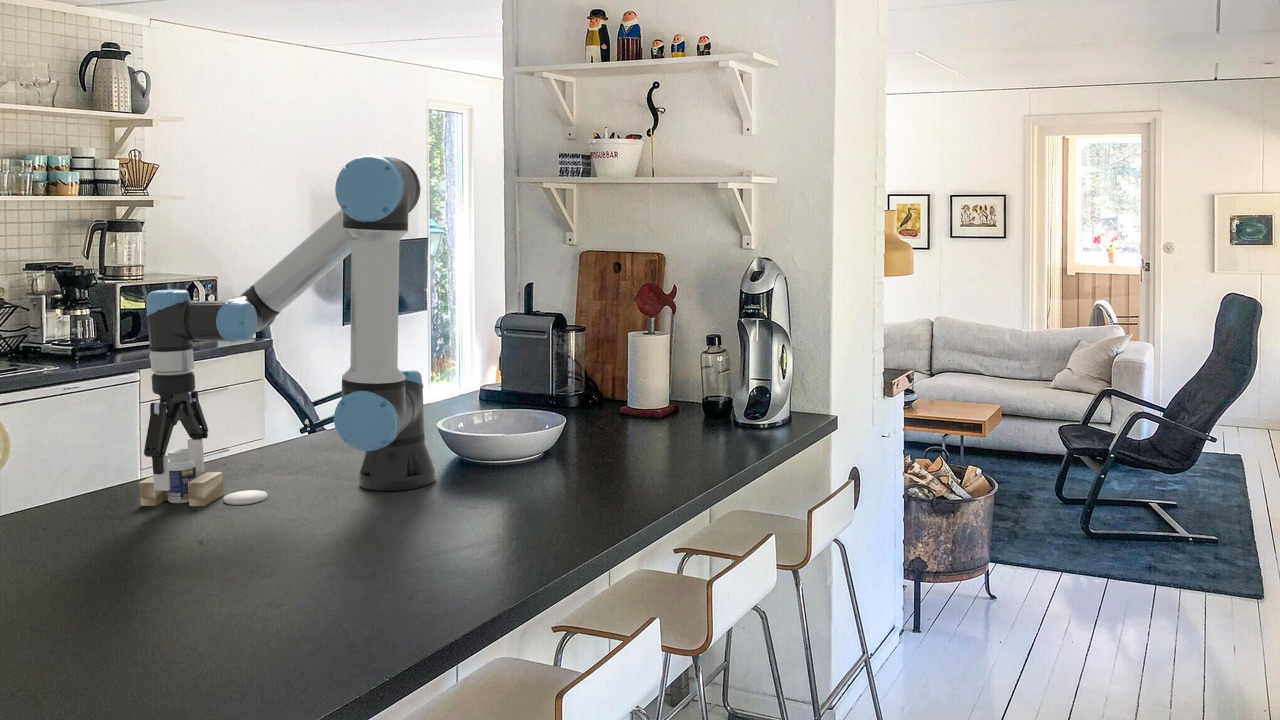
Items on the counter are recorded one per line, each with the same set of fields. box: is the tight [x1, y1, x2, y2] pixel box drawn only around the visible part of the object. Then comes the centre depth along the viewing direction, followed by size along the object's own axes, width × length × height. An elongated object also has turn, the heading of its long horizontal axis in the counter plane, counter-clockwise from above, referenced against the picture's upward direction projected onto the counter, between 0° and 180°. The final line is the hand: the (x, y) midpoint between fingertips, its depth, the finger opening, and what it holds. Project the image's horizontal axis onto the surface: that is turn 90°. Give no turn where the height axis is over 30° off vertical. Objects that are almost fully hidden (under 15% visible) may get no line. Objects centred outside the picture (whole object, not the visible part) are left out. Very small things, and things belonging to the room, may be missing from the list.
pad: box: [223, 489, 269, 506], centre depth 207 cm, size 8×8×1 cm
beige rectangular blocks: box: [138, 471, 225, 507], centre depth 207 cm, size 12×8×4 cm, turn 86°
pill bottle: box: [167, 448, 197, 504], centre depth 207 cm, size 5×5×10 cm
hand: (180, 480), depth 207 cm, fingers open, 13 cm apart
